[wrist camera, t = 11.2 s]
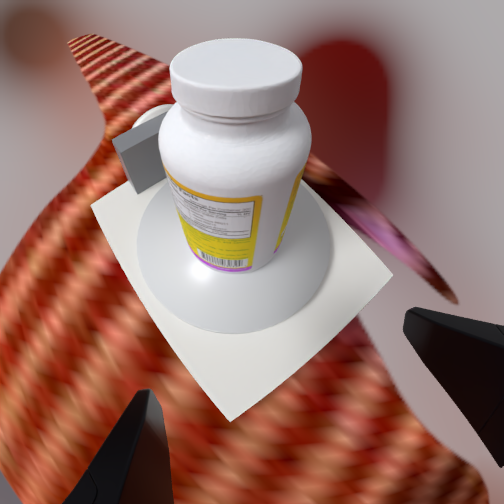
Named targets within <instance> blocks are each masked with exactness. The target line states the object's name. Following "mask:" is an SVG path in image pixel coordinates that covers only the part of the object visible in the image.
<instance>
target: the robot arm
mask: <svg viewBox="0 0 504 504" xmlns="http://www.w3.org/2000/svg"><path fill="white" fill-rule="evenodd" d="M403 332H404V334H405V336H406V337H407V339H408V340H409V342H410V343H411V345H412V346H413V348H414V349H415V351H416V352H417V354H418V356H419V357H420V358H421V360H422V362H423V363H424V364H425V366H426V367H427V368H428V369H429V371H430V372H431V373H432V374H433V376H434V377H435V378H436V379H437V381H438V382H439V383H440V384H441V386H442V387H443V388H444V389H445V391H446V392H447V393H448V395H449V396H450V397H451V399H452V400H453V401H454V403H455V404H456V405H457V406H458V408H459V409H460V411H461V412H462V413H463V415H464V416H465V417H466V419H467V420H468V421H469V423H470V424H471V426H472V427H473V429H474V430H475V431H476V433H477V434H478V436H479V437H480V439H481V440H482V442H483V443H484V445H485V446H486V447H487V449H488V450H489V452H490V453H491V455H492V457H493V458H494V460H495V461H496V463H497V464H498V466H499V467H500V468H502V467H503V466H504V326H502V325H497V324H496V325H495V324H492V323H487V322H482V321H478V320H473V319H469V318H464V317H459V316H455V315H450V314H445V313H441V312H436V311H432V310H427V309H423V308H419V307H413V308H411V309H409V310H407V311H406V314H405V319H404V325H403ZM62 504H174V500H173V491H172V481H171V469H170V456H169V448H168V442H167V436H166V431H165V425H164V418H163V412H162V408H161V405H160V403H159V402H158V400H157V398H156V396H155V395H154V393H153V391H152V390H151V389H142V390H138V391H137V393H136V394H135V396H134V397H133V399H132V400H131V402H130V403H129V405H128V406H127V408H126V409H125V411H124V412H123V414H122V415H121V417H120V418H119V420H118V421H117V423H116V424H115V426H114V427H113V429H112V430H111V432H110V434H109V435H108V437H107V438H106V440H105V441H104V443H103V444H102V446H101V447H100V449H99V451H98V452H97V454H96V455H95V457H94V458H93V460H92V461H91V463H90V465H89V466H88V469H86V471H85V472H84V474H83V475H82V477H81V478H80V480H79V481H78V483H77V484H76V486H75V487H74V489H73V490H72V491H71V493H70V494H69V495H68V497H67V498H66V499H65V501H64V502H63V503H62Z"/></svg>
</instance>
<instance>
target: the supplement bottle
mask: <svg viewBox="0 0 504 504" xmlns="http://www.w3.org/2000/svg"><path fill="white" fill-rule="evenodd" d="M301 75H302V64H301V61H300V60H299V58H298V57H297V56H296V55H294V54H293V53H292V52H291V51H289V50H287V49H285V48H283V47H280V46H278V45H275V44H271V43H268V42H264V41H259V40H253V39H243V38H238V39H237V38H232V39H219V40H218V39H217V40H212V41H207V42H203V43H199V44H196V45H194V46H191V47H189V48H187V49H185V50H183V51H182V52H180V53H179V54H177V55H176V56H175V57H174V59H173V60H172V62H171V64H170V76H171V85H172V94H173V97H174V98H175V100H176V101H177V102H176V103H175V104H174V105H173V106H172V107H171V109H170V110H169V111H168V112H167V114H166V116H165V117H164V119H163V121H162V124H161V126H160V130H159V137H158V143H159V150H160V154H161V159H162V163H163V166H164V169H165V173H166V176H167V180H168V183H169V186H170V190H171V193H172V196H173V200H174V203H175V206H176V210H177V213H178V216H179V219H180V222H181V225H182V229H183V232H184V235H185V237H186V240H187V243H188V245H189V247H190V250H191V251H192V253H193V254H194V256H195V257H196V258H197V259H198V260H199V261H200V262H201V263H202V264H204V265H205V266H207V267H208V268H210V269H212V270H214V271H217V272H220V273H225V274H244V273H248V272H252V271H254V270H256V269H259V268H260V267H262V266H264V265H265V264H266V263H268V262H269V261H270V260H271V259H272V258H273V256H274V255H275V254H276V252H277V251H278V249H279V247H280V244H281V242H282V239H283V236H284V233H285V230H286V226H287V223H288V220H289V217H290V214H291V211H292V208H293V204H294V201H295V198H296V194H297V191H298V188H299V185H300V181H301V178H302V175H303V172H304V168H305V165H306V162H307V159H308V155H309V151H310V147H311V131H310V126H309V123H308V121H307V118H306V116H305V115H304V113H303V111H302V110H301V109H300V108H299V106H298V105H297V104H296V103H295V102H293V101H294V100H295V99H296V97H297V95H298V93H299V88H300V82H301Z"/></svg>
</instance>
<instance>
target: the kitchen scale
mask: <svg viewBox="0 0 504 504" xmlns="http://www.w3.org/2000/svg"><path fill="white" fill-rule="evenodd" d="M172 106H173V105H172V104H166V105H161V106H157V107H155V108H153V109H151V110H149V111H147V112H146V113H145V114H143V115H142V116H141V117H140V118H139V119H138V120H137V121H136V123H135V124H134V125H133V127H132V129H131V130H129V131H127V132H125V133H123V134H121V135H119V136H118V137H116V138H114V139H112V142H113V144H114V147H115V149H116V152H117V154H118V157H119V159H120V162H121V164H122V167H123V169H124V171H125V174H126V176H127V178H128V182H126V183H124V184H123V185H121V186H119V187H118V188H116V189H115V190H113V191H111V192H110V193H108V194H107V195H105V196H104V197H102V198H101V199H99V200H98V201H96V202H95V203H93V204H92V205H91V207H92V209H93V212H94V214H95V216H96V218H97V220H98V222H99V224H100V226H101V228H102V231H103V233H104V235H105V237H106V239H107V240H108V242H109V244H110V246H111V248H112V250H113V252H114V254H115V256H116V258H117V260H118V261H119V263H120V265H121V267H122V269H123V270H124V272H125V274H126V276H127V278H128V279H129V281H130V283H131V284H132V286H133V288H134V290H135V291H136V293H137V295H138V296H139V298H140V300H141V301H142V303H143V305H144V306H145V308H146V309H147V311H148V313H149V314H150V316H151V317H152V319H153V320H154V322H155V323H156V325H157V326H158V328H159V329H160V331H161V332H162V334H163V335H164V337H165V338H166V340H167V341H168V343H169V344H170V346H171V347H172V349H173V350H174V351H175V353H176V354H177V356H178V357H179V358H180V360H181V361H182V363H183V364H184V365H185V367H186V368H187V369H188V371H189V372H190V373H191V375H192V376H193V377H194V379H195V380H196V381H197V382H198V384H199V385H200V386H201V388H202V389H203V390H204V391H205V393H206V394H207V395H208V396H209V398H210V399H211V400H212V401H213V403H214V404H215V405H216V406H217V407H218V409H219V410H220V411H221V412H222V413H223V414H224V416H225V417H226V418H227V419H228V420H229V421H230V422H231V421H232V420H234V419H235V418H236V417H238V416H239V415H241V414H242V413H243V412H245V411H246V410H248V409H249V408H250V407H252V406H253V405H254V404H256V403H257V402H258V401H260V400H261V399H262V398H263V397H265V396H266V395H267V394H269V393H270V392H271V391H272V390H274V389H275V388H276V387H277V386H279V385H280V384H281V383H282V382H284V381H285V380H286V379H287V378H289V377H290V376H291V375H292V374H293V373H295V372H296V371H297V370H298V369H299V368H300V367H302V366H303V365H304V364H305V363H306V362H307V361H308V360H310V359H311V358H312V357H313V356H314V355H315V354H316V353H317V352H319V351H320V350H321V349H322V348H323V347H324V346H325V345H326V344H327V343H328V342H329V341H330V340H332V339H333V338H334V337H335V336H336V335H337V334H338V333H339V332H340V331H341V330H342V329H343V328H344V327H345V326H346V325H347V324H348V323H349V322H350V321H351V320H352V319H353V318H354V317H355V316H356V315H357V314H358V313H359V312H360V311H361V310H362V309H363V308H364V307H365V306H366V305H367V304H368V303H369V302H370V301H371V300H372V298H373V297H374V296H375V295H376V294H377V293H378V292H379V291H380V290H381V289H382V288H383V286H384V285H385V284H386V283H387V282H388V281H389V280H390V278H391V277H392V276H393V274H392V272H391V271H390V270H389V269H388V268H387V267H386V266H385V264H384V263H383V262H382V261H381V260H380V259H379V258H378V257H377V256H376V254H375V253H374V252H373V251H372V250H371V249H370V248H369V247H368V246H367V244H366V243H365V242H364V241H363V240H362V239H361V238H360V237H359V236H358V235H357V234H356V233H355V232H354V231H353V230H352V229H351V227H350V226H349V225H348V224H347V223H346V222H345V221H344V220H343V219H342V218H341V217H340V216H339V215H338V214H337V213H336V212H335V211H334V210H333V209H332V208H331V207H330V206H329V205H328V204H327V203H326V202H325V201H324V200H323V199H322V198H321V197H320V196H319V195H318V194H317V193H316V192H315V191H313V190H312V189H311V188H310V187H309V186H308V185H307V184H306V183H305V182H304V181H303V180H302V179H301V181H300V185H299V188H298V191H297V194H296V198H295V201H294V204H293V208H292V211H291V214H290V217H289V220H288V223H287V226H286V230H285V233H284V236H283V239H282V242H281V244H280V247H279V249H278V251H277V252H276V254H275V255H274V256H273V258H272V259H271V260H270V261H269V262H268V263H266V264H265V265H264V266H262V267H260V268H259V269H256V270H254V271H252V272H248V273H244V274H225V273H220V272H217V271H214V270H212V269H210V268H208V267H207V266H205V265H204V264H202V263H201V262H200V261H199V260H198V259H197V258H196V257H195V256H194V254H193V253H192V251H191V250H190V247H189V245H188V243H187V240H186V237H185V235H184V232H183V229H182V225H181V222H180V219H179V216H178V213H177V210H176V206H175V203H174V200H173V196H172V193H171V190H170V186H169V183H168V180H167V176H166V173H165V169H164V166H163V163H162V159H161V154H160V150H159V143H158V137H159V130H160V126H161V124H162V121H163V119H164V117H165V116H166V114H167V112H168V111H169V110H170V109H171V107H172Z"/></svg>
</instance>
